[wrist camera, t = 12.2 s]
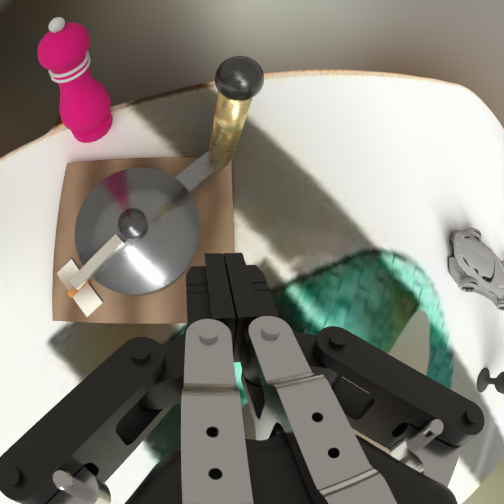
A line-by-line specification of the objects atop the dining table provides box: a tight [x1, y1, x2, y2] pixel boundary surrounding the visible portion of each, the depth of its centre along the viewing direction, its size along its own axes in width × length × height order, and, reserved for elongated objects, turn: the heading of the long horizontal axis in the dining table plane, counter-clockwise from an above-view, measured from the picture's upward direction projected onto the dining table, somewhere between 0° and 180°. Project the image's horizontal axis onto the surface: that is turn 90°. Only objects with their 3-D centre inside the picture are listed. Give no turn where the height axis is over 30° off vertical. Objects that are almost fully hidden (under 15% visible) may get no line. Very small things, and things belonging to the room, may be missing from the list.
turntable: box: [70, 56, 264, 296], centre depth 25 cm, size 24×14×17 cm, turn 136°
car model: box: [449, 228, 504, 311], centre depth 43 cm, size 11×24×5 cm, turn 70°
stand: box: [52, 158, 235, 324], centre depth 33 cm, size 22×20×2 cm
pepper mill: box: [38, 17, 112, 142], centre depth 26 cm, size 7×7×20 cm
